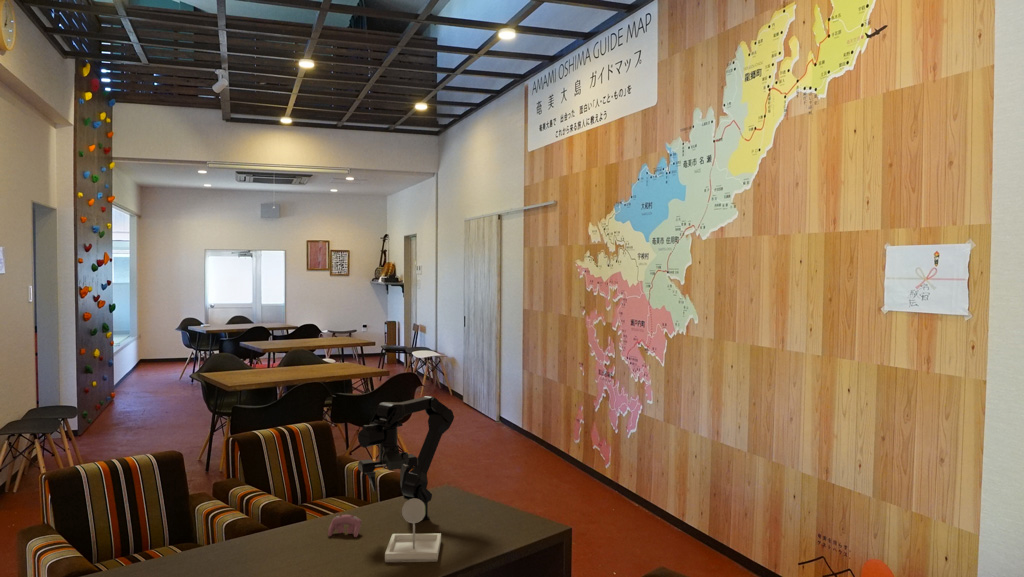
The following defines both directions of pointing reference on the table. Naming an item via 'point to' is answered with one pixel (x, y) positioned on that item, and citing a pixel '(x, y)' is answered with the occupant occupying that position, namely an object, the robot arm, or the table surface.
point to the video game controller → (345, 519)
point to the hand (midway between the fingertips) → (388, 489)
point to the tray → (404, 552)
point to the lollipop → (413, 513)
